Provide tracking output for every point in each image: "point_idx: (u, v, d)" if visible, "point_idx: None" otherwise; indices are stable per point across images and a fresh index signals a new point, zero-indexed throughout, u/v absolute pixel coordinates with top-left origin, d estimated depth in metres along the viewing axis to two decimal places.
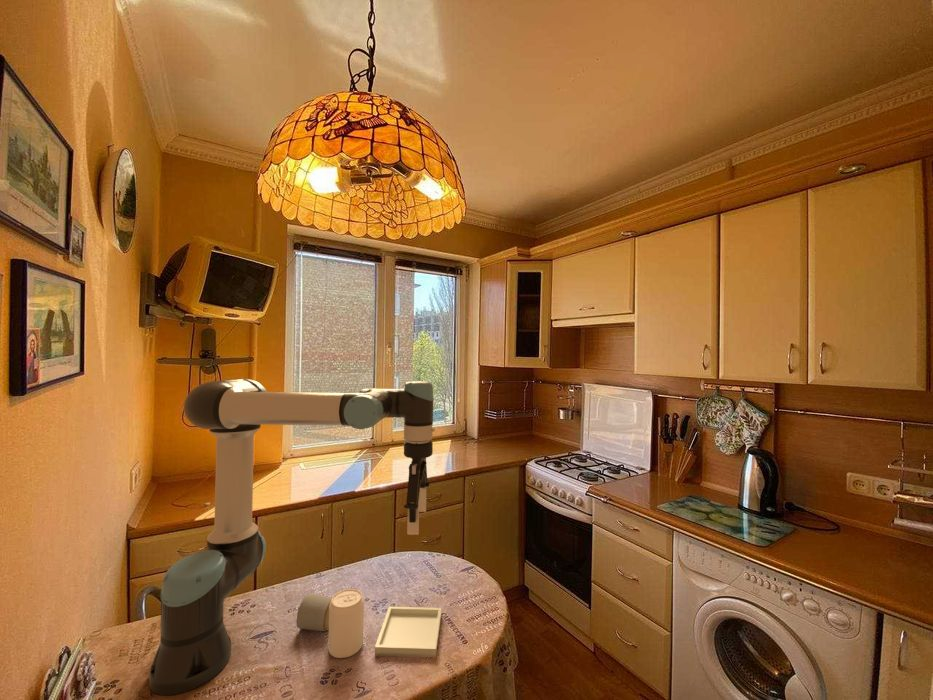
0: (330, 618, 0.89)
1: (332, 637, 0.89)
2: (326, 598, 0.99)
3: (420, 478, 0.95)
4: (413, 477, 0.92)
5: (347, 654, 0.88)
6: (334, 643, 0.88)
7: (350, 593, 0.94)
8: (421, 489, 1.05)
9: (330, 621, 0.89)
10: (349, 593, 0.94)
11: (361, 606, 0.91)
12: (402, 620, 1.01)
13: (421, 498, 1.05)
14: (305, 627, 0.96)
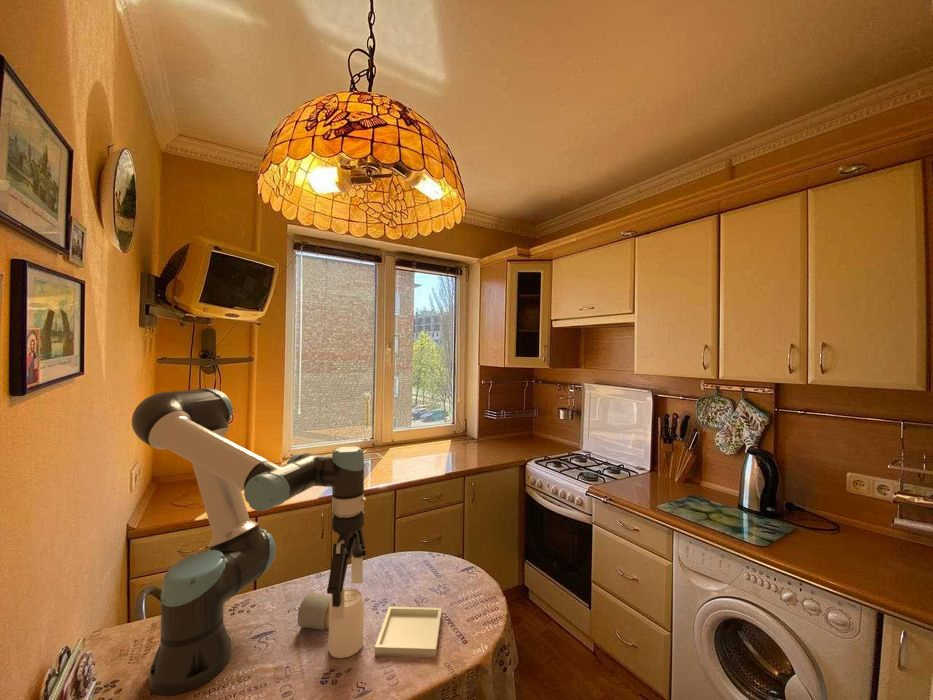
0: (330, 618, 0.89)
1: (332, 637, 0.89)
2: (327, 597, 1.00)
3: (347, 555, 0.88)
4: (337, 557, 0.85)
5: (347, 654, 0.88)
6: (334, 643, 0.88)
7: (350, 593, 0.94)
8: (356, 559, 0.99)
9: (330, 621, 0.89)
10: (349, 593, 0.94)
11: (361, 606, 0.91)
12: (402, 620, 1.01)
13: (357, 569, 0.99)
14: (306, 626, 0.97)
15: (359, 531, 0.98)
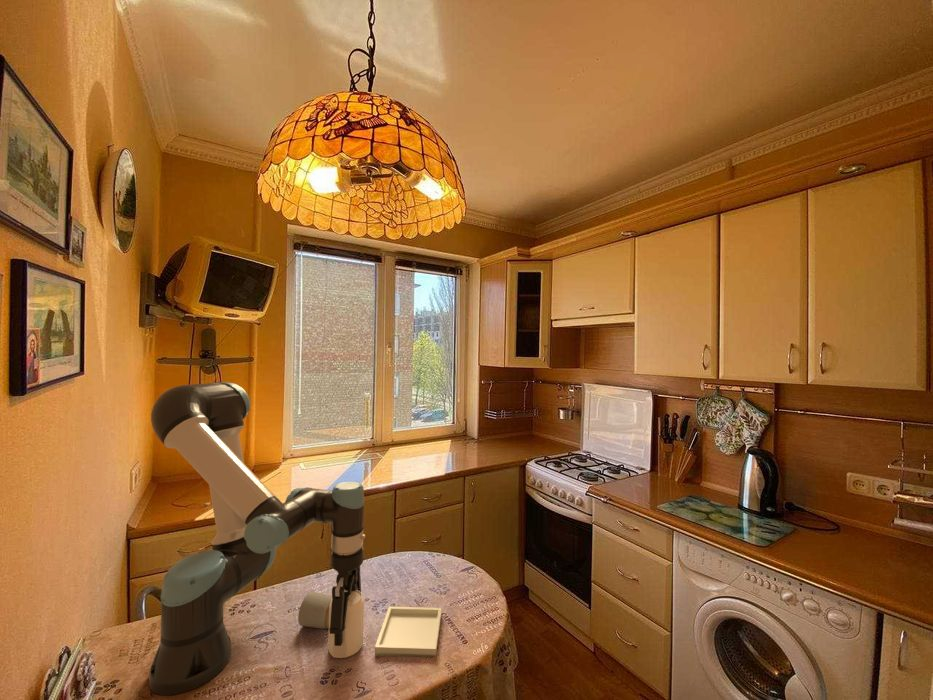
0: (330, 618, 0.89)
1: (332, 637, 0.89)
2: (327, 596, 1.00)
3: (347, 594, 0.89)
4: (337, 600, 0.86)
5: (347, 654, 0.88)
6: None
7: None
8: None
9: None
10: None
11: (361, 606, 0.91)
12: (402, 620, 1.01)
13: None
14: (307, 625, 0.97)
15: (357, 570, 0.98)
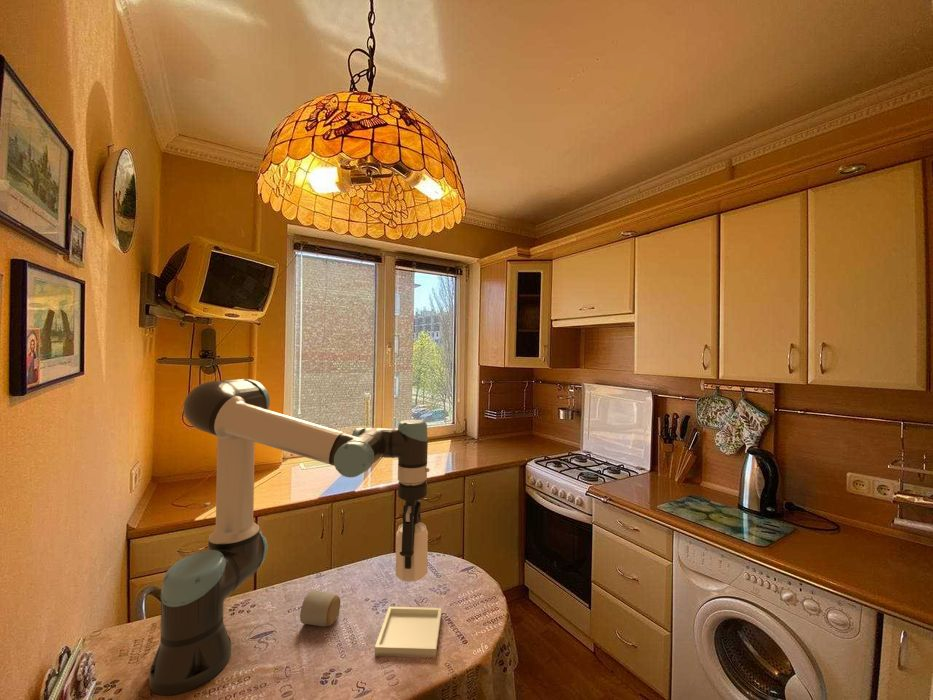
0: (398, 545, 0.94)
1: (400, 562, 0.94)
2: (329, 594, 1.01)
3: (414, 522, 0.94)
4: (407, 525, 0.91)
5: (415, 578, 0.93)
6: None
7: None
8: None
9: (398, 548, 0.94)
10: None
11: (426, 535, 0.96)
12: (402, 620, 1.01)
13: None
14: (309, 623, 0.98)
15: None
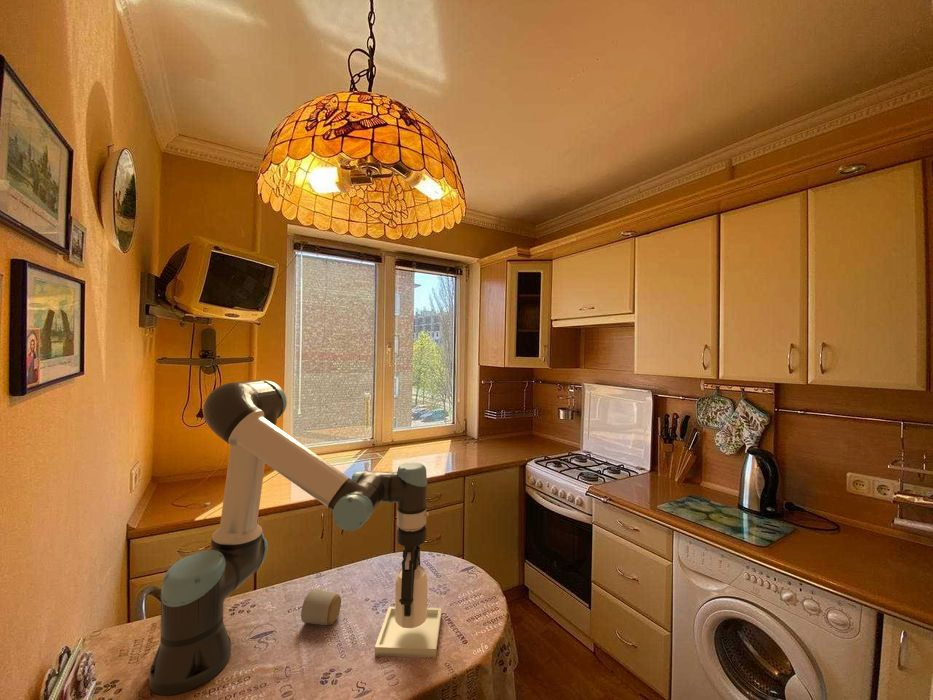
0: (398, 591, 0.94)
1: (400, 608, 0.93)
2: (330, 593, 1.02)
3: (414, 568, 0.94)
4: (406, 573, 0.90)
5: (415, 624, 0.93)
6: None
7: None
8: None
9: (398, 594, 0.94)
10: None
11: (426, 580, 0.96)
12: None
13: None
14: (310, 621, 0.98)
15: None
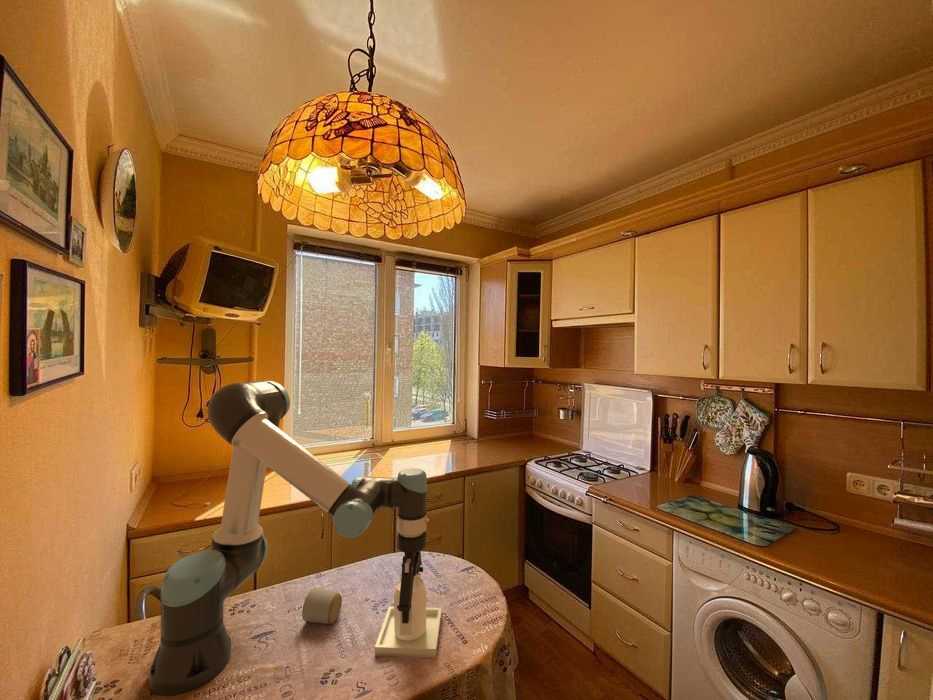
0: (396, 603, 0.94)
1: (399, 621, 0.93)
2: (331, 592, 1.02)
3: (413, 573, 0.93)
4: (406, 576, 0.90)
5: (414, 637, 0.93)
6: None
7: None
8: (415, 575, 1.03)
9: (396, 606, 0.94)
10: None
11: (424, 592, 0.96)
12: None
13: None
14: (311, 620, 0.99)
15: None
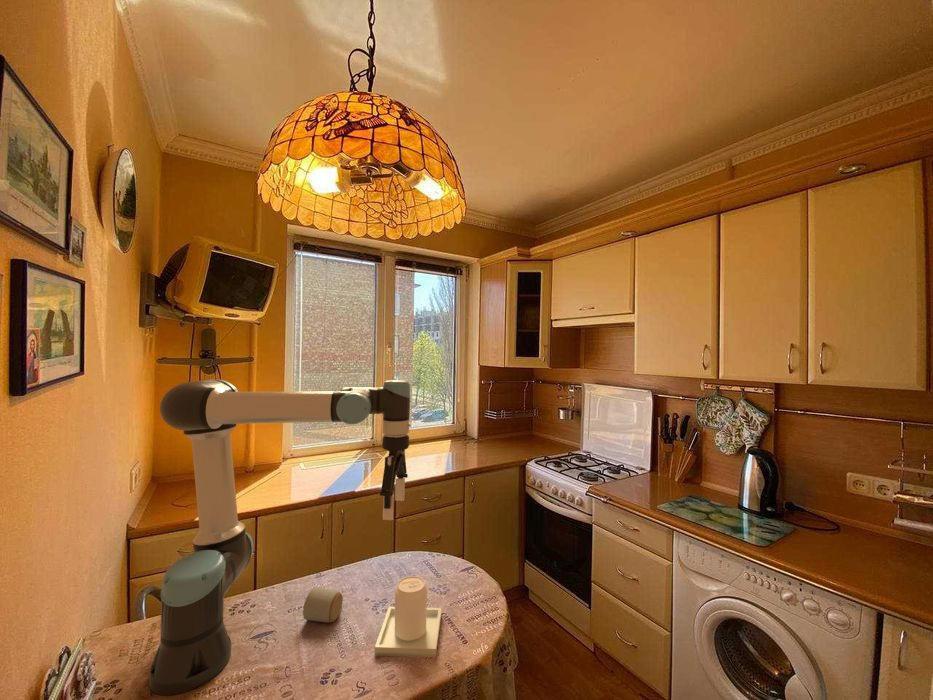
0: (397, 603, 0.94)
1: (399, 620, 0.93)
2: (332, 591, 1.03)
3: (396, 469, 1.03)
4: (388, 467, 1.00)
5: (414, 637, 0.93)
6: (401, 626, 0.93)
7: (413, 580, 0.99)
8: (400, 480, 1.14)
9: (397, 605, 0.94)
10: (412, 580, 0.99)
11: (425, 592, 0.96)
12: None
13: (400, 488, 1.14)
14: (312, 619, 0.99)
15: None
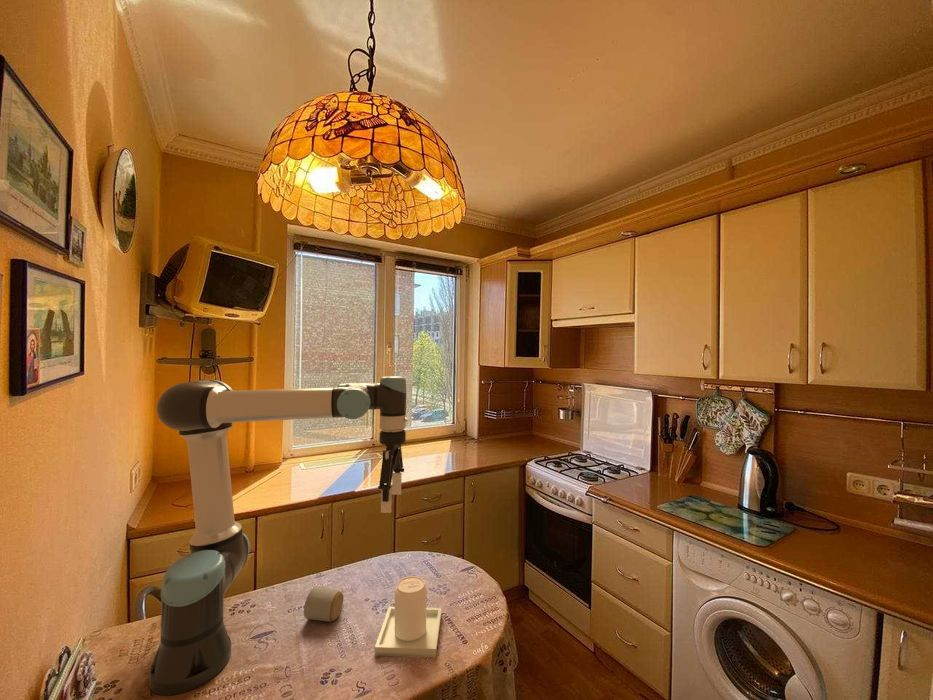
0: (397, 603, 0.94)
1: (399, 621, 0.93)
2: (332, 590, 1.03)
3: (393, 463, 1.06)
4: (386, 461, 1.03)
5: (414, 637, 0.93)
6: (401, 627, 0.93)
7: (413, 580, 0.99)
8: (396, 474, 1.16)
9: (397, 606, 0.94)
10: (412, 580, 0.99)
11: (425, 592, 0.96)
12: None
13: (396, 482, 1.16)
14: (312, 618, 1.00)
15: (399, 450, 1.16)
